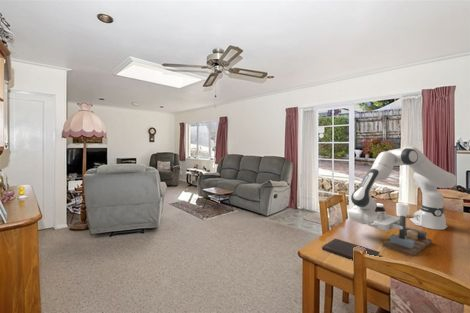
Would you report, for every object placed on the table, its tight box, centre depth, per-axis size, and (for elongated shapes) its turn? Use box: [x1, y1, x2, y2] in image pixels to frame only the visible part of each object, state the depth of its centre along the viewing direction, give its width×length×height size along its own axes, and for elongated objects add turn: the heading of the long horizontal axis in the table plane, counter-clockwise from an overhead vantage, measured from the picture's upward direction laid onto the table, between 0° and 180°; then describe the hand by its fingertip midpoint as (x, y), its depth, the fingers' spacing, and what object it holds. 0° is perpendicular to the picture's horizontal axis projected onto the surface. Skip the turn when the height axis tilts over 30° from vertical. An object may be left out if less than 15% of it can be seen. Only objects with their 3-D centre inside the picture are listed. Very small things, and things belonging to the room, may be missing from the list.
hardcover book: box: [321, 238, 381, 261], centre depth 121 cm, size 16×23×2 cm
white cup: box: [395, 201, 409, 218], centre depth 183 cm, size 8×8×10 cm
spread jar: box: [375, 202, 387, 214], centre depth 174 cm, size 12×11×12 cm
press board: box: [382, 226, 432, 257], centre depth 130 cm, size 28×14×6 cm, turn 125°
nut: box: [407, 230, 418, 240], centre depth 134 cm, size 5×5×4 cm
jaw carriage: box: [389, 216, 414, 249], centre depth 125 cm, size 4×10×16 cm, turn 35°
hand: (404, 227), depth 124 cm, fingers closed on jaw carriage, 3 cm apart
